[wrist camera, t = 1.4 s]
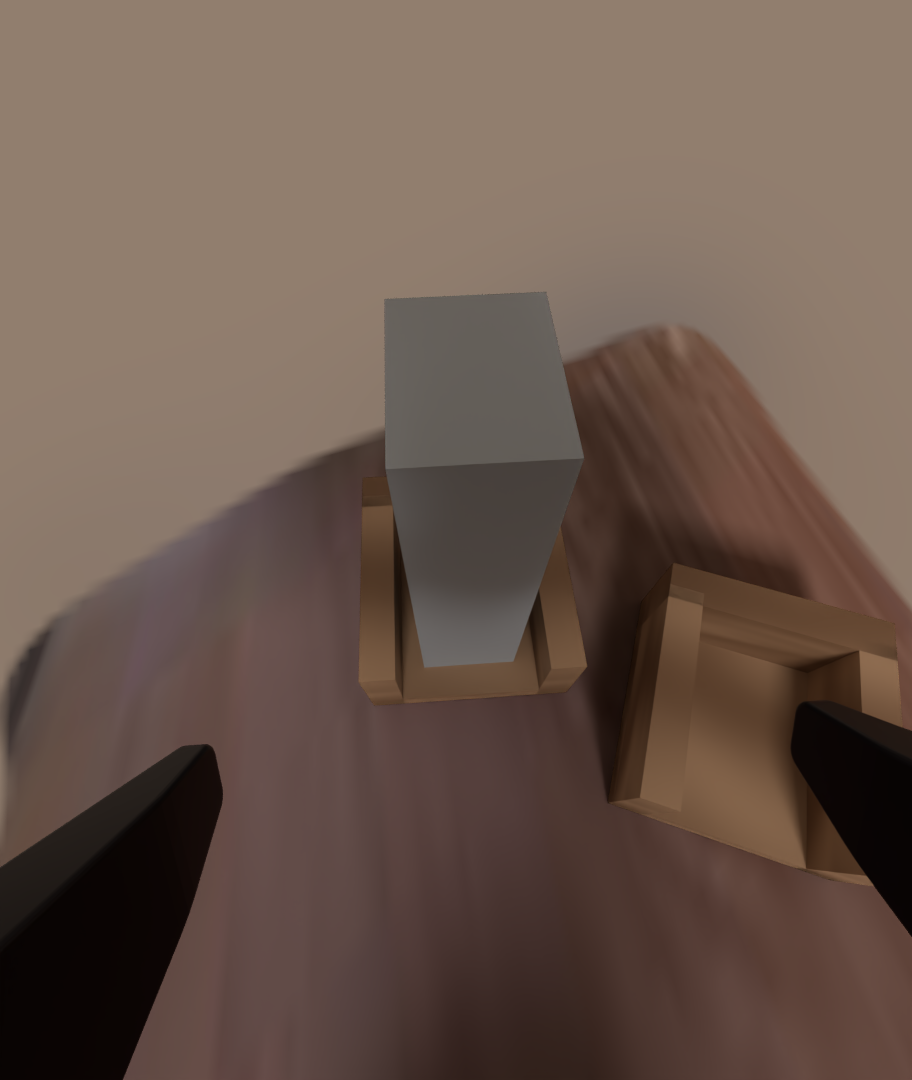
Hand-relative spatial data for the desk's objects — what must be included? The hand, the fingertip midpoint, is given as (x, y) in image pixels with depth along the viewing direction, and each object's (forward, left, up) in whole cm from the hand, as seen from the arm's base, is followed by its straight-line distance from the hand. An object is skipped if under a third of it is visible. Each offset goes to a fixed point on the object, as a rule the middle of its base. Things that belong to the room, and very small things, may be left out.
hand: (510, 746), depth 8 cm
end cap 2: (+6, -8, -13) cm, 16 cm away
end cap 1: (+6, +3, -13) cm, 14 cm away
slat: (+6, +3, -12) cm, 14 cm away
